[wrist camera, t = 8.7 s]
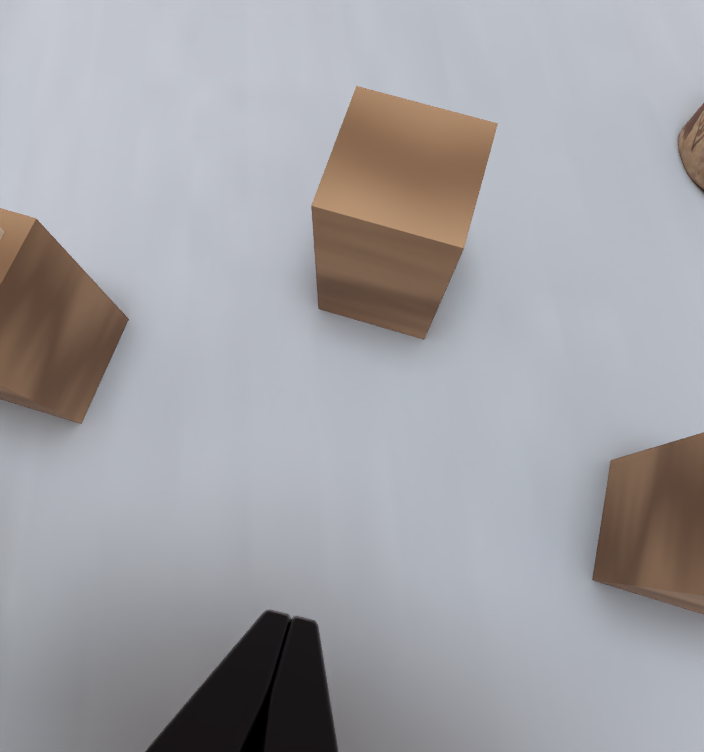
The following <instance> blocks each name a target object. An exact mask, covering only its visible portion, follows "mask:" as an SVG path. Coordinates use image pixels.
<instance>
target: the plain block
mask: <svg viewBox="0 0 704 752" xmlns="http://www.w3.org/2000/svg"><path fill="white" fill-rule="evenodd" d="M497 124H498V123H494V122H490V121H486V120H483V119H479V118H475V117H471V116H467V115H464V114H460V113H456V112H452V111H449V110H445V109H441V108H437V107H434V106H430V105H426V104H422V103H418V102H415V101H411V100H407V99H403V98H400V97H396V96H392V95H388V94H384V93H381V92H377V91H373V90H369V89H366V88H362V87H358V86H356V89H355V91H354V94H353V97H352V99H351V102H350V105H349V107H348V110H347V113H346V115H345V118H344V121H343V123H342V126H341V129H340V131H339V134H338V136H337V139H336V142H335V144H334V147H333V150H332V152H331V155H330V158H329V160H328V163H327V166H326V168H325V171H324V174H323V176H322V179H321V182H320V184H319V187H318V190H317V192H316V195H315V198H314V200H313V203H312V221H313V235H314V249H315V264H316V278H317V293H318V307H319V309H321V310H324V311H328V312H331V313H335V314H338V315H342V316H345V317H348V318H352V319H355V320H359V321H362V322H366V323H369V324H373V325H376V326H379V327H383V328H386V329H390V330H393V331H397V332H400V333H403V334H407V335H410V336H414V337H417V338H421V339H425V336H426V334H427V332H428V330H429V327H430V325H431V323H432V320H433V318H434V316H435V313H436V311H437V309H438V307H439V304H440V302H441V300H442V297H443V295H444V293H445V291H446V288H447V286H448V284H449V281H450V279H451V277H452V274H453V272H454V270H455V268H456V265H457V263H458V261H459V258H460V256H461V254H462V251H463V249H464V246H465V242H466V239H467V235H468V231H469V228H470V224H471V220H472V217H473V213H474V209H475V206H476V202H477V198H478V194H479V191H480V187H481V183H482V180H483V176H484V172H485V169H486V165H487V161H488V158H489V154H490V150H491V147H492V143H493V139H494V136H495V132H496V128H497Z"/></svg>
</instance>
